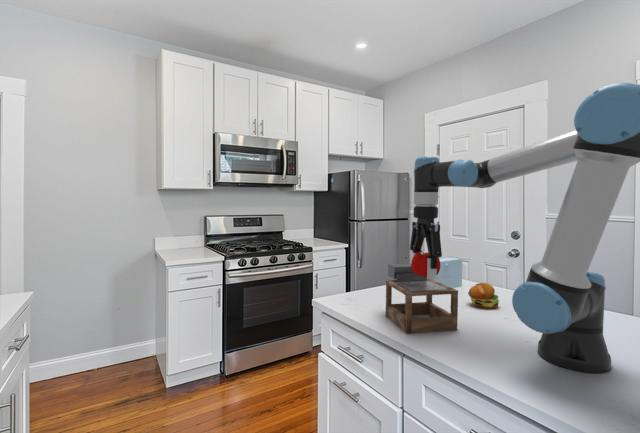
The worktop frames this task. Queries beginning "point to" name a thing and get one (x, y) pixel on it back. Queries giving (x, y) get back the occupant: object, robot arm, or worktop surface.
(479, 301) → the cheeseburger
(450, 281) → the light blue box
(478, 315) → the worktop surface
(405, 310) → the frame
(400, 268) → the trapdoor
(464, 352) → the worktop surface
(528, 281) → the robot arm
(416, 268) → the tomato
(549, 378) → the worktop surface
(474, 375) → the worktop surface
